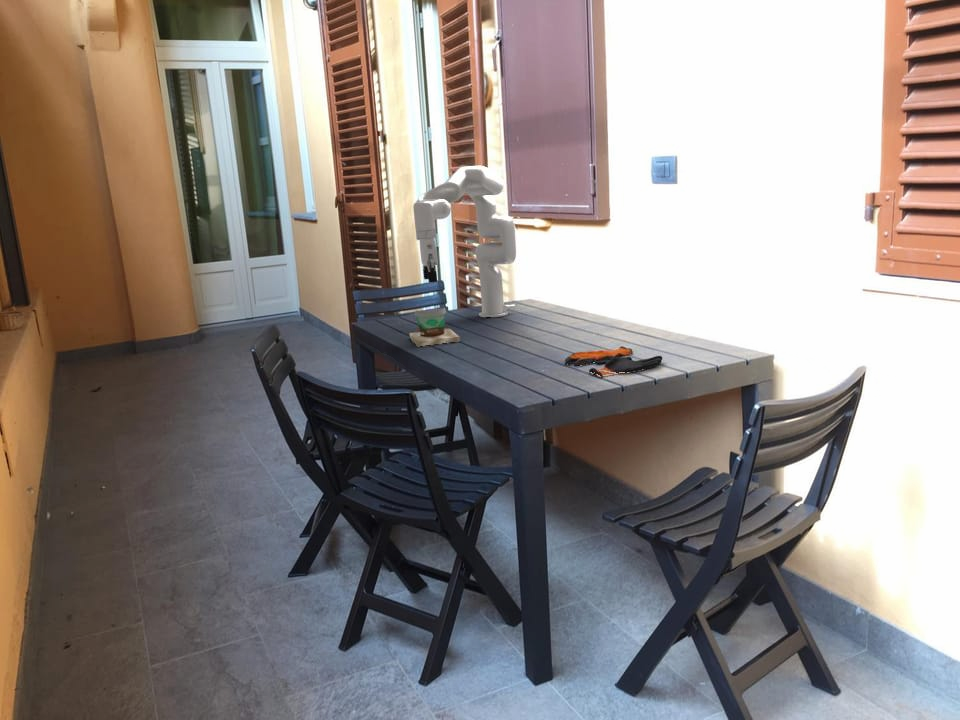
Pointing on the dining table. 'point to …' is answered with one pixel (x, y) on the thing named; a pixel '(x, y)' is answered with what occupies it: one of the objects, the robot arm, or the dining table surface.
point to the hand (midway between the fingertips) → (430, 280)
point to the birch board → (434, 338)
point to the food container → (431, 322)
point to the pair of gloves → (612, 361)
